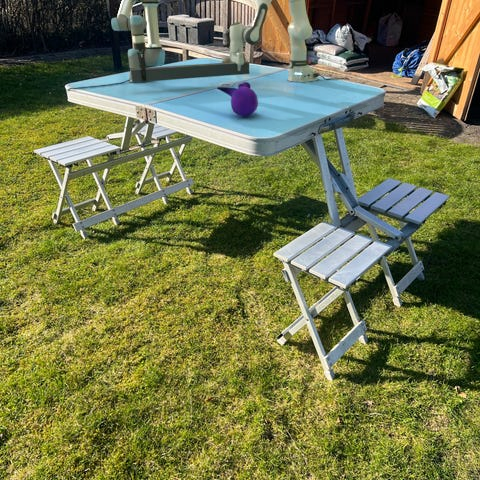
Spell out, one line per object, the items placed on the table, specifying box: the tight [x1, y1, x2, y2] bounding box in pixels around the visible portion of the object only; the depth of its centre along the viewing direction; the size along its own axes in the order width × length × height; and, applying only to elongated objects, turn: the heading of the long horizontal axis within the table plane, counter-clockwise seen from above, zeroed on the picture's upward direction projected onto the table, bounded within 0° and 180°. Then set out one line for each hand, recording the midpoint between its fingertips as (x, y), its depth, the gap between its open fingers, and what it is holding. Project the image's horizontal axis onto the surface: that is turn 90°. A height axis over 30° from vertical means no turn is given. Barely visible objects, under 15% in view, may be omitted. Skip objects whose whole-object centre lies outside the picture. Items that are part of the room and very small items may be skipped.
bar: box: [129, 60, 250, 83], centre depth 307 cm, size 81×6×8 cm, turn 107°
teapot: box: [221, 52, 246, 63], centre depth 367 cm, size 21×12×15 cm, turn 120°
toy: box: [216, 81, 259, 118], centre depth 249 cm, size 16×18×27 cm
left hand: (143, 79), depth 300 cm, fingers closed on bar, 6 cm apart
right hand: (237, 69), depth 315 cm, fingers closed on bar, 5 cm apart
